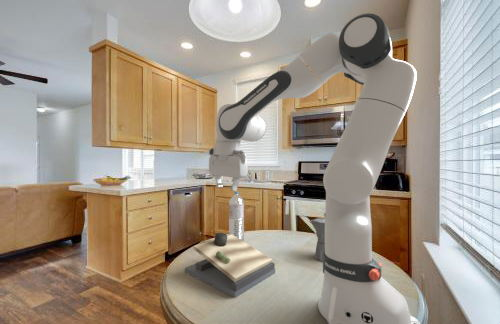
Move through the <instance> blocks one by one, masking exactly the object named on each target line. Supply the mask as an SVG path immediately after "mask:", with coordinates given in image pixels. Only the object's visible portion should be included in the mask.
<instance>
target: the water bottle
mask: <svg viewBox="0 0 500 324" xmlns="http://www.w3.org/2000/svg"><path fill="white" fill-rule="evenodd" d="M239 194H240V192H239V191H234V195H233V196H232V197H230V199H229V201H228V203H229V206H228V207H229V209H228V210H229V211H228V214H229V216H228V235H231V234H232V235H234V236H235V237H237V238H239V239H240V240H242V241H243V242H245V241H244V240H245V209H244V208H245V200H244V199H243V197H242V196H241V195H239Z"/></svg>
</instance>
